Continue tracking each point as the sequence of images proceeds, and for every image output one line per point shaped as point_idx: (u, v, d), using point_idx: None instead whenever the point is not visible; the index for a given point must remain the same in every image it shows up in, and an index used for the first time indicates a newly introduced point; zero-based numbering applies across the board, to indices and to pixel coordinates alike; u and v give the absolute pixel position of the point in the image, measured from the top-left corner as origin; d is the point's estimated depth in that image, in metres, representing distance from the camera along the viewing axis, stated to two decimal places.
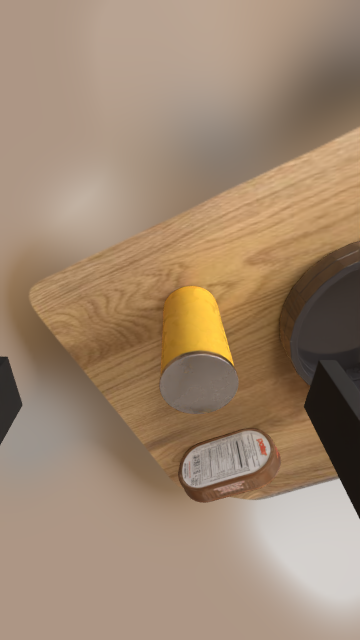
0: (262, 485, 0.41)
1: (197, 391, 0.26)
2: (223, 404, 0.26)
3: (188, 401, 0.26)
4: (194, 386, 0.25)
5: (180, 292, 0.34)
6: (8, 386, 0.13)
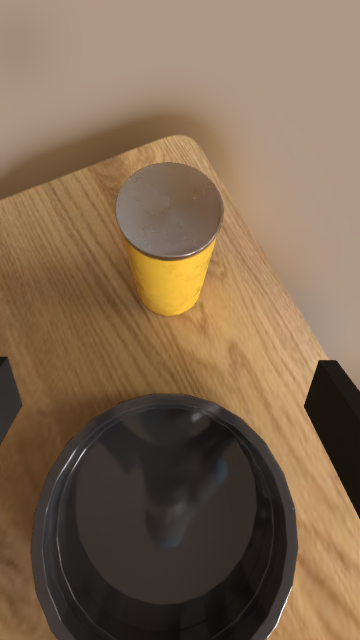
0: None
1: (160, 206, 0.18)
2: (134, 240, 0.18)
3: (141, 194, 0.19)
4: (169, 201, 0.19)
5: None
6: (8, 386, 0.13)
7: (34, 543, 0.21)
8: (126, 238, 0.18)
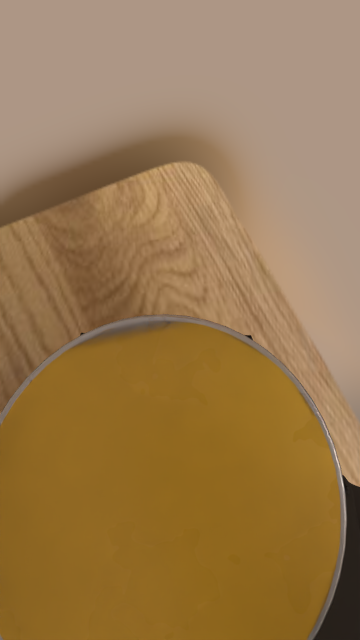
0: None
1: (130, 489, 0.05)
2: None
3: (65, 444, 0.05)
4: (162, 470, 0.05)
5: None
6: None
7: None
8: None
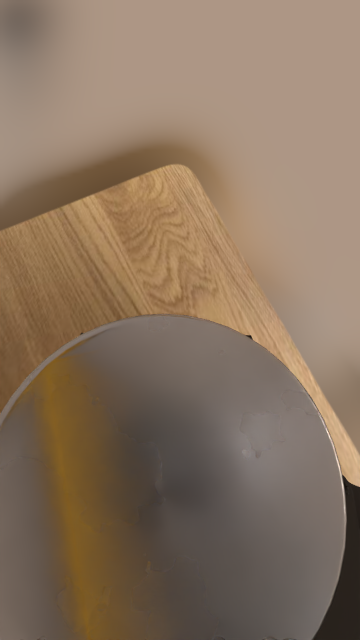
0: None
1: (130, 489, 0.05)
2: None
3: (65, 443, 0.05)
4: (161, 470, 0.05)
5: None
6: None
7: None
8: None
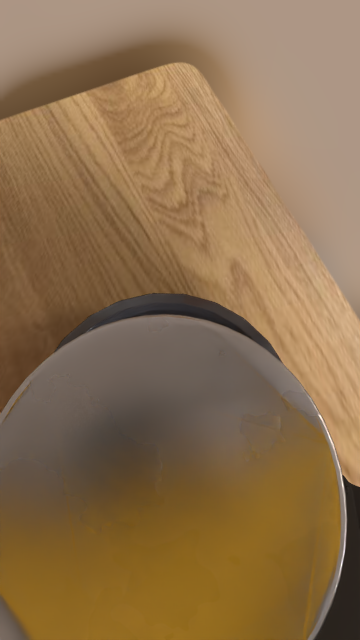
0: None
1: (129, 491, 0.05)
2: None
3: (64, 444, 0.05)
4: (161, 471, 0.05)
5: None
6: None
7: None
8: None
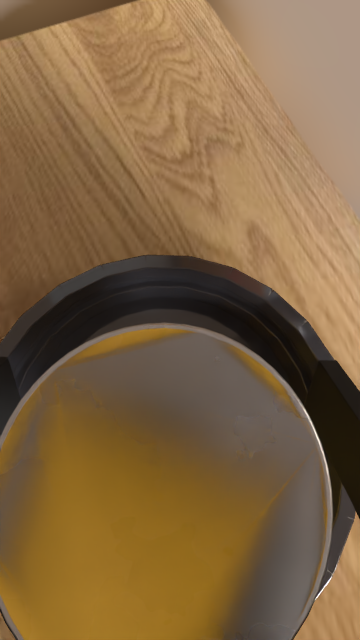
0: None
1: (131, 487, 0.06)
2: None
3: (71, 444, 0.06)
4: (161, 469, 0.06)
5: None
6: (8, 386, 0.13)
7: None
8: None
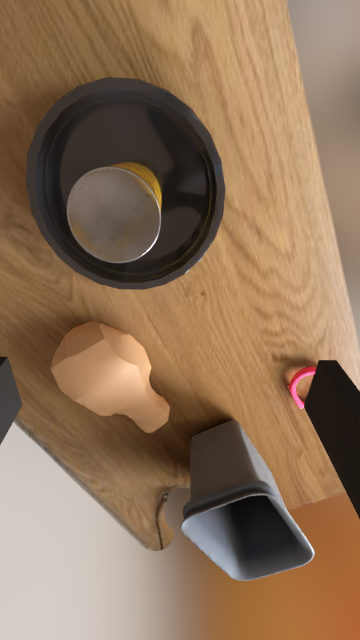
0: None
1: (106, 217, 0.21)
2: (88, 249, 0.23)
3: (87, 205, 0.21)
4: (113, 212, 0.21)
5: (158, 183, 0.31)
6: (8, 386, 0.13)
7: (32, 205, 0.29)
8: (81, 245, 0.23)
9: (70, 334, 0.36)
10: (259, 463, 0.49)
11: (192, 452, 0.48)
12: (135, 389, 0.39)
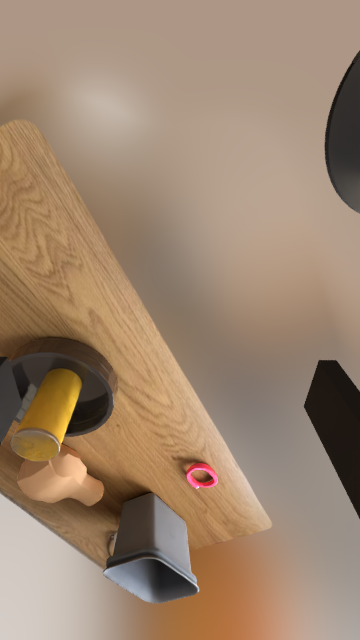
0: None
1: (30, 446, 0.42)
2: (23, 457, 0.44)
3: (20, 442, 0.42)
4: (34, 444, 0.42)
5: (77, 381, 0.52)
6: (8, 386, 0.13)
7: None
8: None
9: None
10: (168, 524, 0.70)
11: (121, 516, 0.70)
12: (73, 487, 0.61)
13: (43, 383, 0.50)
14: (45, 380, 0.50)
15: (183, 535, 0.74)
